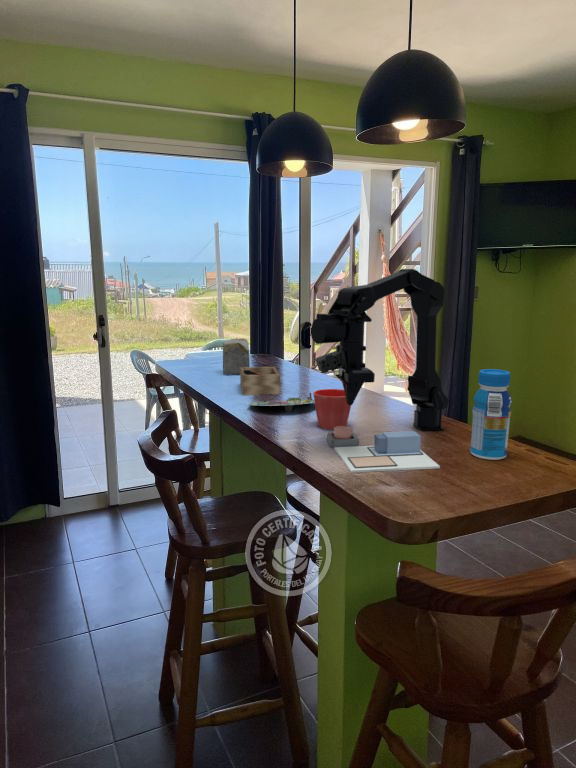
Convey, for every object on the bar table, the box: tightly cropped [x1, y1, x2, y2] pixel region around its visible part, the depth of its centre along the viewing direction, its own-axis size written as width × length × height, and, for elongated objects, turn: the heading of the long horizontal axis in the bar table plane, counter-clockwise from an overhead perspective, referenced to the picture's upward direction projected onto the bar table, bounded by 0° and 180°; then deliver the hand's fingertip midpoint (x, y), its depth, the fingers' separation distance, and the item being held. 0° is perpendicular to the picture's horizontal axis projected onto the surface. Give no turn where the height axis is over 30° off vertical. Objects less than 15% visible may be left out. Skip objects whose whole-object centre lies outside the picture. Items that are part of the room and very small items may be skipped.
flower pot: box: [313, 388, 352, 431], centre depth 150 cm, size 11×11×10 cm
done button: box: [333, 425, 353, 439], centre depth 135 cm, size 4×4×3 cm
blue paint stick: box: [373, 430, 422, 454], centre depth 128 cm, size 10×4×4 cm, turn 98°
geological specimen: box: [222, 337, 251, 376], centre depth 228 cm, size 11×6×15 cm, turn 105°
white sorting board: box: [333, 445, 441, 474], centre depth 125 cm, size 20×16×1 cm
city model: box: [248, 392, 315, 412], centre depth 173 cm, size 25×23×6 cm
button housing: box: [326, 431, 360, 449], centre depth 135 cm, size 7×7×2 cm
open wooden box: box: [239, 366, 281, 396], centre depth 198 cm, size 13×17×7 cm
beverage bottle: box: [469, 368, 513, 461], centre depth 125 cm, size 8×8×20 cm
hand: (349, 404), depth 132 cm, fingers closed
